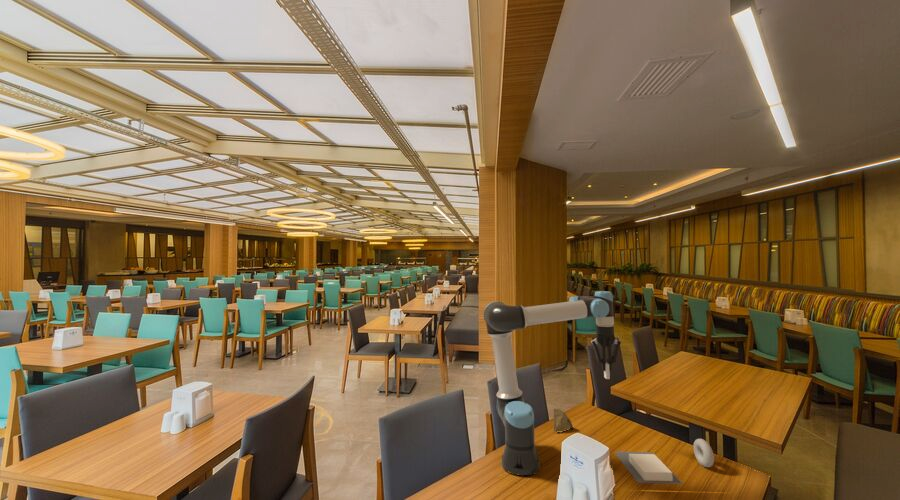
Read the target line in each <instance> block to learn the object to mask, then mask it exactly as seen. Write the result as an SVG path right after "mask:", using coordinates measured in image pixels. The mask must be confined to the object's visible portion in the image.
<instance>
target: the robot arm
mask: <svg viewBox="0 0 900 500" xmlns="http://www.w3.org/2000/svg"><path fill="white" fill-rule="evenodd" d="M588 318H595V324H596V326H595V329H596V330H595V334H596V335H595V338H594V339H592V340H590V344H591V345H592V347H593V350H594V355H595V358H596V361H597V362H599V363H601V371H603V377H604V379H606V380H610V379H611V378H610V376H611V373H610V372H612V365H613V363H616V361H617V356H618V352H619V348H620V345H621V344H622V342H621V341H620V340H619V339H616V337H615V326H614V324H615V319H614V297H613V292H611V291H606V290H605V291H604V290H599V291H598V290H597V291H595V292H594V295H588V296H587V295H584V296H583V295H576V296H571V297H569V299H568V301H562V302H556V303H548V304H541V305H532V306H531V305H530V306H523V305H522V304H520V305H508V304H505V303H504V302H502V301H493V302H489V304H487V305H486V306H485V308H484V311H483V320H484V322H485V326H486V332H487V335H488V336H489V337H490V338H491V344H492V349H493V350H492V351H493V357H494V364H495V373H496V378H497V384H498V391H497V393H496V395H495V396H496V410H497V414H498V417H500V420H501V421H502V423H503V426H504V434H505V440H504V441H505V443H504V444H505V446H504V450H503V453H502V456H501V467H502V466H503V467H502V469H503V468H504V469H505V470H507V471H509V472H511V473H513V474H519V475H531V474H534V473H536V472H537V471H538V470H539V471H540V469H541V466H540V465H541V464H540V463H541V462H540V458H539V457H538V452H537V450H536V446H535V414H534V409H533V407H532V406H531V405H530V404H528V403H527V402H526V403H525V400H524V395H523V391H522V390H521V389H520V388H519V384H518V378H517V371H516V364H515V357H514V351H513V350H514V349H513V343H512V336H511V335H512V333H513V332H514V331H515V330H516V331H517V330H524V329H526V327H528V326H536V325H541V324H549V323H556V322H565V321H571V320H572V321H573V320H577V319H578V320H580V319H588ZM598 344H599V346H600V351H599V347H598ZM612 346H613V347H612ZM612 348H613V349H612ZM539 468H540V469H539ZM504 469H503V470H504ZM505 470H504V471H505ZM507 471H506V472H507ZM539 471H538V472H539ZM538 472H537V473H538ZM537 473H536V474H537ZM513 474H512V475H513ZM534 475H535V474H534ZM531 476H532V475H531Z"/></svg>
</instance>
